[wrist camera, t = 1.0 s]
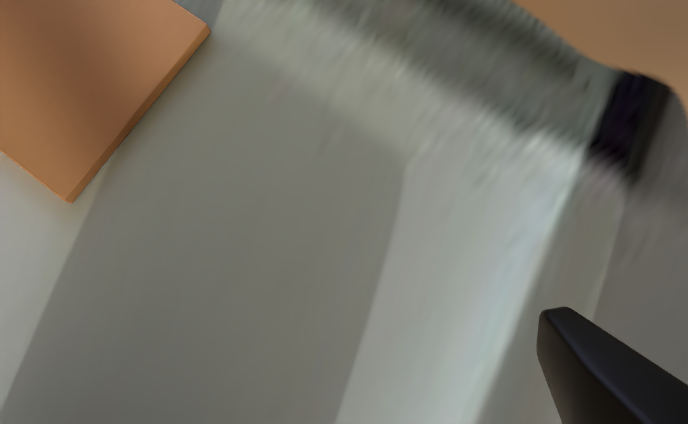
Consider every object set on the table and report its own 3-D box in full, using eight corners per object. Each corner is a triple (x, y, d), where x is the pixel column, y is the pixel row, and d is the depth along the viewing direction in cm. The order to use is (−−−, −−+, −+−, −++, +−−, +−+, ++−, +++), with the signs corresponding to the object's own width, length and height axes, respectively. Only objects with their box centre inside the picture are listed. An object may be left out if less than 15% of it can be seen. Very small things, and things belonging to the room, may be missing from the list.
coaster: (72, 204, 23) (64, 201, 22) (-85, 80, 24) (-96, 74, 23) (212, 31, 24) (207, 23, 23) (53, -79, 25) (45, -89, 24)
